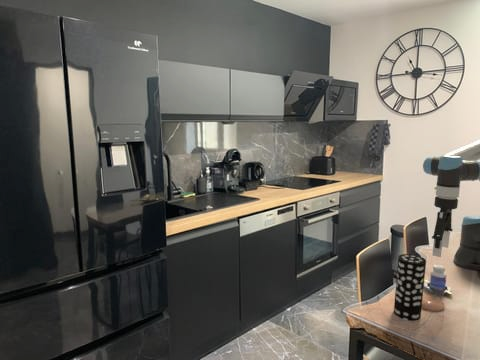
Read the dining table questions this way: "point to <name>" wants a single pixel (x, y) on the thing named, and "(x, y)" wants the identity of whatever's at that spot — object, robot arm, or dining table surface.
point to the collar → (437, 292)
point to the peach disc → (432, 303)
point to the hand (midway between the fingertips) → (440, 251)
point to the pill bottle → (438, 278)
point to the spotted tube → (409, 287)
